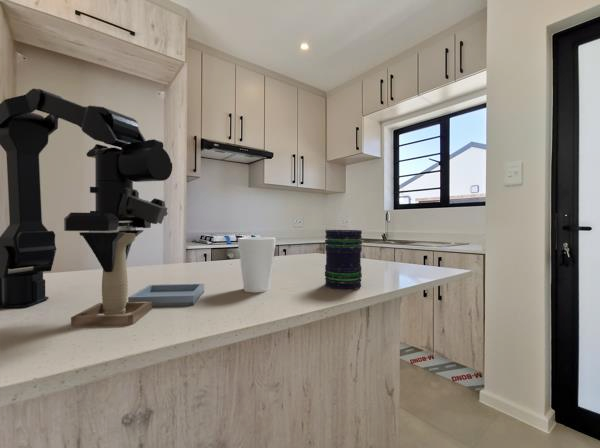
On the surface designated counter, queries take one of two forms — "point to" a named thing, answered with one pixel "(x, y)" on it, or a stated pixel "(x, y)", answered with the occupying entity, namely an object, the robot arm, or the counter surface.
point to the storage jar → (343, 259)
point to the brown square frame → (92, 319)
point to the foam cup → (256, 262)
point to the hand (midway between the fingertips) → (114, 269)
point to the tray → (169, 294)
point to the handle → (117, 279)
